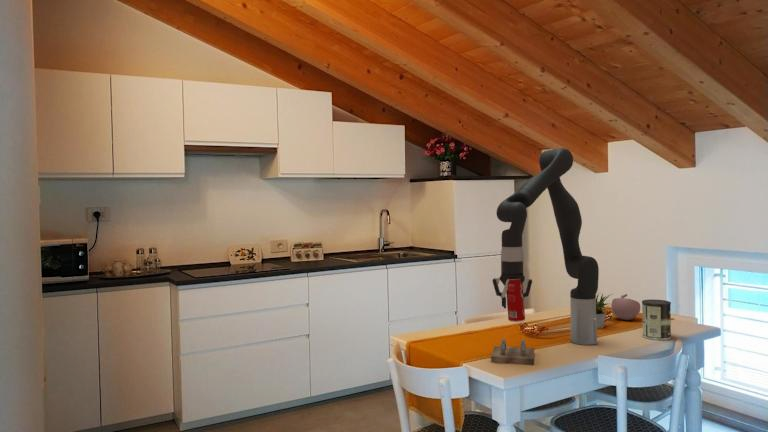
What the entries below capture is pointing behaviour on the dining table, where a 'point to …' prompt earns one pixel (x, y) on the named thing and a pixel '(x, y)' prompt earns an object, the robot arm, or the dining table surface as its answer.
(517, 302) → the beverage can
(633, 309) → the pink apple
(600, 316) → the house plant
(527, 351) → the peg board
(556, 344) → the dining table surface
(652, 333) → the coffee can
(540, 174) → the robot arm
